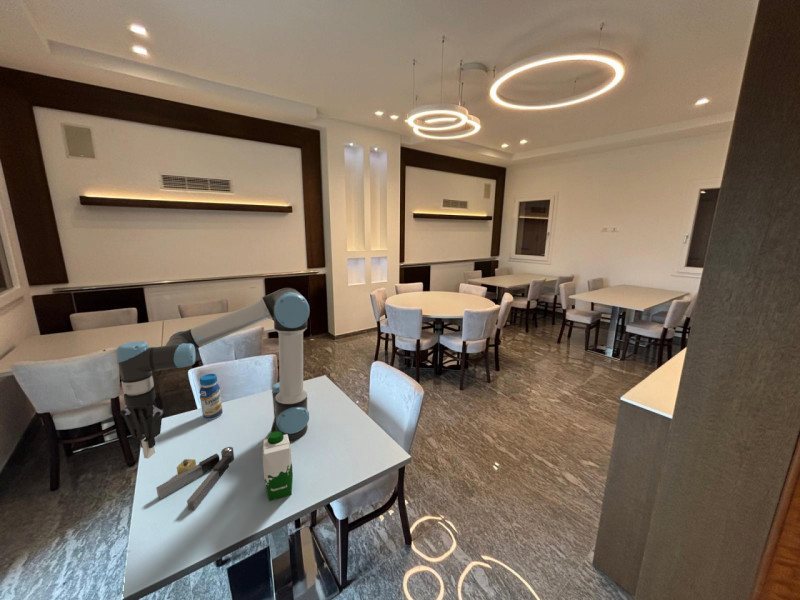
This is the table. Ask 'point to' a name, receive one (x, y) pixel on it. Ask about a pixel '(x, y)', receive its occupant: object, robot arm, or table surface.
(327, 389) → the table surface
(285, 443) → the milk carton
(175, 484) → the tong arm
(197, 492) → the base
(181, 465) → the block
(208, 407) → the beverage bottle
